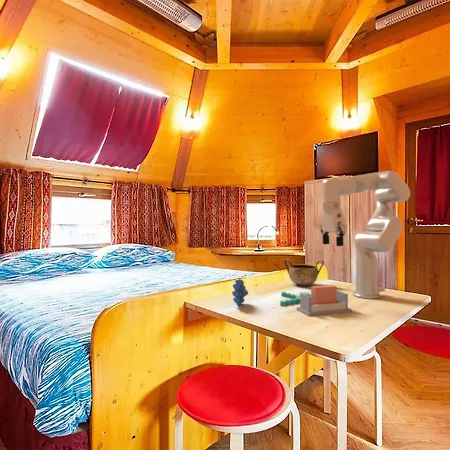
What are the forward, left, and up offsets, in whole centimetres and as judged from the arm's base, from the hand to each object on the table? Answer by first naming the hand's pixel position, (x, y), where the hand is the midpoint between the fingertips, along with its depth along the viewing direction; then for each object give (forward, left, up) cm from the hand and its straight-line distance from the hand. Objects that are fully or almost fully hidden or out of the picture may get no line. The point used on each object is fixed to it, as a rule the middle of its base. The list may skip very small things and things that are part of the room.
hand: (332, 245), depth 142 cm
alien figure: (+11, -6, -27) cm, 30 cm away
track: (+11, +10, -26) cm, 30 cm away
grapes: (+41, -7, -26) cm, 49 cm away
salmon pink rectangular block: (+11, +10, -25) cm, 29 cm away
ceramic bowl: (-8, -38, -26) cm, 47 cm away
